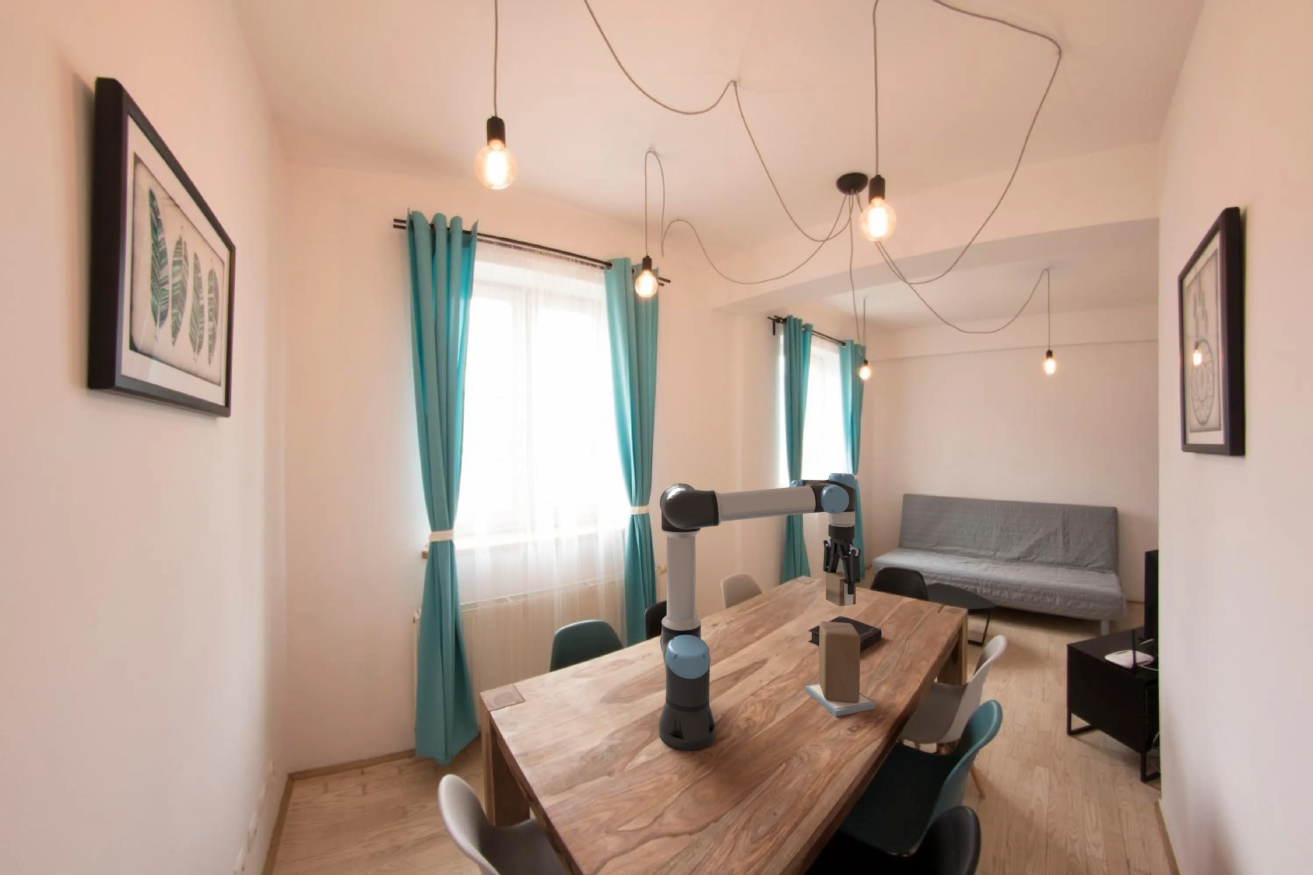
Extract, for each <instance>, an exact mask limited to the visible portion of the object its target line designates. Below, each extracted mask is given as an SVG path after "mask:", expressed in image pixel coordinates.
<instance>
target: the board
mask: <svg viewBox="0 0 1313 875" xmlns="http://www.w3.org/2000/svg"><path fill="white" fill-rule="evenodd" d="M804 686H805V687H804V691H805V692H806V693H807V694H808V695H809V696H810V697H812V698H813V700H816V702H817V703H819V704H820V705H821V706H822V707H824V708H825V709H826V710H827V711H828V712H830V713H831V714H832V715H833V716H834V717H837V718H838V717H841V716H845V715H846V716H847V715H851V714H856V713H859V712H864V711H865V712H866V711H868V710H874V709H876V702H874V701H873V700H871V699H870V698H869V697H867V696H866V695H864V694H863V693H862V692H860V696H859V702H857V703H854V702H844V701H835V700H827V699H825V698H824V695H823V692H822V689H821V687H820V684H819V683H815V684H809V685H804Z"/></svg>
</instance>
